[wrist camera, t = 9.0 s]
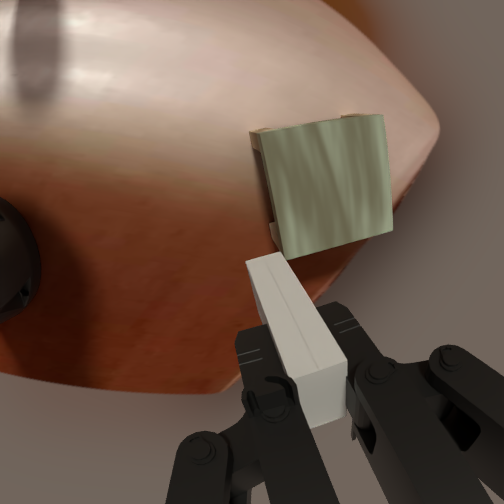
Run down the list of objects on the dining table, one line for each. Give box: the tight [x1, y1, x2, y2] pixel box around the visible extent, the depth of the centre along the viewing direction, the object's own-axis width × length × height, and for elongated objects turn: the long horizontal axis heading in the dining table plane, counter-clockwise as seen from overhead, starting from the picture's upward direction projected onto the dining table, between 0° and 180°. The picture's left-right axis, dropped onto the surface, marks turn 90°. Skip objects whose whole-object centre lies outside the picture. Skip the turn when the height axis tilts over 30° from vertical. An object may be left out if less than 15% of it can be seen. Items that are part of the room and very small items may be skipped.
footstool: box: [249, 114, 393, 260], centre depth 27 cm, size 6×11×11 cm
